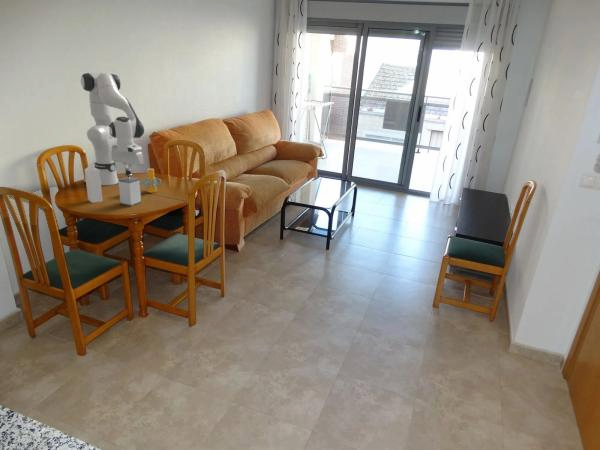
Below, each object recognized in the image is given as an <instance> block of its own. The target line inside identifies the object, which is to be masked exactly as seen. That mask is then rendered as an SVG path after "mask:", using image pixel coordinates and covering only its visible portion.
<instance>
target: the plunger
mask: <svg viewBox="0 0 600 450" xmlns="http://www.w3.org/2000/svg"><path fill="white" fill-rule="evenodd" d="M132 176H133V173H132V170H131V171H127V170H125V173H124V177H128V180H129V179H130V177H132Z"/></svg>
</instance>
